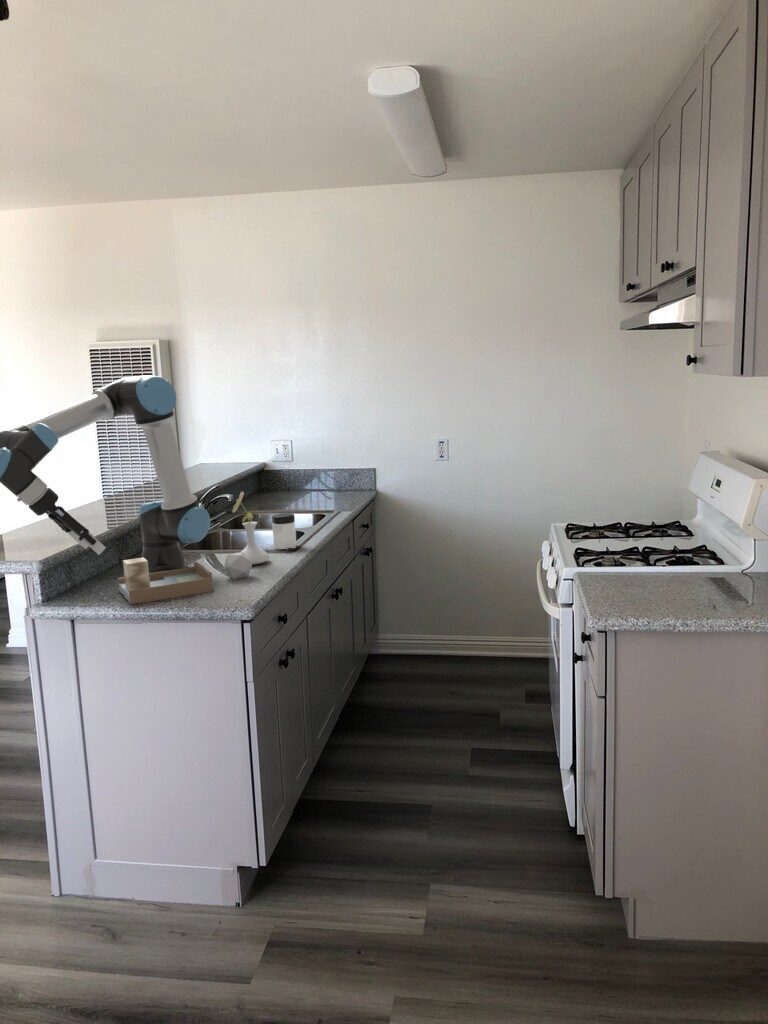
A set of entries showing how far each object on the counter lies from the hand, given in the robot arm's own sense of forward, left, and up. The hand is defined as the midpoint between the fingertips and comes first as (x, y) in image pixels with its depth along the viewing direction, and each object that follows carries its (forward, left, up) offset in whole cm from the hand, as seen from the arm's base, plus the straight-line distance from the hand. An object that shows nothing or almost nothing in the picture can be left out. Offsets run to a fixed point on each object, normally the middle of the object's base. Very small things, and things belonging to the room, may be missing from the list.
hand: (95, 548), depth 232 cm
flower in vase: (+8, +55, -17) cm, 58 cm away
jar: (+2, +80, -17) cm, 82 cm away
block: (+3, +11, -14) cm, 18 cm away
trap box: (+7, +18, -16) cm, 25 cm away
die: (+17, +39, -17) cm, 46 cm away
